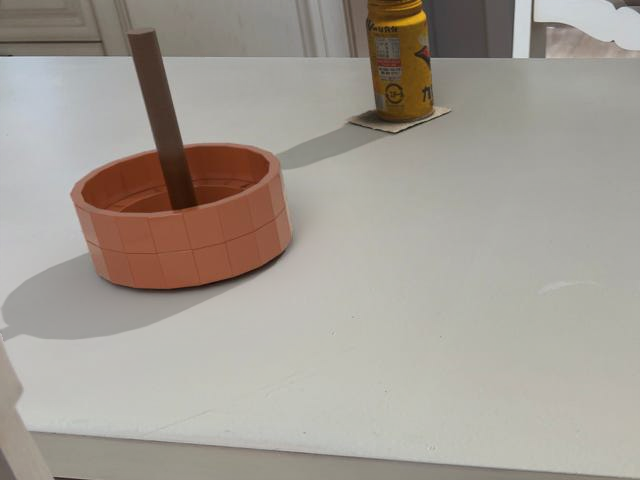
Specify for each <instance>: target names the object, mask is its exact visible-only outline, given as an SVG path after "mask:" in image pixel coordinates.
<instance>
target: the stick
mask: <svg viewBox="0 0 640 480" xmlns="http://www.w3.org/2000/svg"><path fill="white" fill-rule="evenodd" d="M125 35H126V39H127V43H128V46H129V51H130V54H131V58H132V62H133V66H134V69H135V73H136V77H137V81H138V86H139V88H140V93H141V96H142V100H143V104H144V107H145V111H146V115H147V120H148V122H149V123H148V124H149V127H150V130H151V134H152V138H153V142H154V146H155V149H156V150H157V154H158V157H159V161H160V165H161V169H162V173H163V176H164V180H165V184H166V188H167V192H168V195H169V199H170V203H171V207H172V211H174V210H182V209H186V208H191V207H195V206H198V202H197V198H196V194H195V190H194V186H193V182H192V178H191V174H190V169H189V165H188V161H187V157H186V153H185V149H184V145H185V144H184V142H183V137H182V134H181V129H180V125H179V121H178V117H177V112H176V109H175V104H174V101H173V95H172V92H171V88H170V84H169V81H168V75H167V73H166V72H167V71H166V68H165V64H164V59H163V56H162V52H161V48H160V44H159V39H158V35H157V32H156V28H154V27H151V26H144V27H136V28H133V29H129V30H127V31H125Z"/></svg>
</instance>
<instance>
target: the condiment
mask: <svg viewBox="0 0 640 480" xmlns="http://www.w3.org/2000/svg"><path fill="white" fill-rule="evenodd" d="M366 8H367V11H368V12H367V15H366V18H365V29H366V38H367V46H368V56H369V63H370V72H371V80H372V89H373V96H374V104H375V108H374V109H369V110H367V111H365V112H362V113H361V114H357V115H353V116H349V117H348V118H345V119H344V121H348V122H350V123H351V124H356V125H360V126H363V127H366V128H371V129H372V130H381V131H384V132H391V133H398V132H400V131H401V130H405V129H407V128H409V127H412V126H415V125H416V124H420V123H423V122H427V121H429V120H431V119H433V118H434V119H435V118H436V117H439V116H442V115H444V114H447V113H449V112H451V111H452V108H449V107H443V106H436V105H435V102H434V100H435V99H434V89H433V88H434V87H433V74H432V65H431V54H430V42H429V26H428V21H427V20H428V19H427V15H426V13H425V11H424V10H423V2H422V0H367V3H366Z"/></svg>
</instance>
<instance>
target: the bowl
mask: <svg viewBox="0 0 640 480" xmlns="http://www.w3.org/2000/svg"><path fill="white" fill-rule="evenodd" d="M183 145H184V149H185V153H186V157H187V161H188V165H189V169H190V174H191V178H192V182H193V186H194V190H195V194H196V198H197V202H198V206H195V207H191V208H186V209H182V210H174V211H172V207H171V203H170V199H169V195H168V192H167V188H166V184H165V180H164V176H163V173H162V169H161V165H160V161H159V157H158V154H157V150H156V148H155V149H150V150H145V151H141V152H138V153H134V154H131V155H127V156H125V157H122V158H118V159H115V160H112V161H110V162H107V163H106V164H103V165H102V166H98V167H97V168H94V169H93V170H91V171H90V172H88V173H87V174H86V175H84V176H83V177H81V178H80V179H79V180H78V181H76V182H75V183H74V185H73V187H72V189H71V191H70V193H69V196H70V199H71V203H72V206H73V208H74V212H75V215H76V218H77V221H78V224H79V227H80V230H81V233H82V237H83V239H84V242H85V246H86V249H87V251H88V255H89V257H90V261H91V264H92V266H93V269H94V270H95V273H96V275H97V276H100V277H102V278H103V279H104V280H106V281H108V282H110V283H112V284H115V285H119V286H125V287H128V288H129V287H130V288H134V289H154V290H155V289H158V290H159V289H160V290H161V289H162V290H170V289H171V290H172V289H179V288H188V287H197V286H202V285H206V284H210V283H214V282H215V283H216V282H218V281H224V280H227V279H231V278H235V277H237V276H240V275H243V274H245V273H248V272H250V271H253V270H255V269H258V268H260V267H262V266H263V265H265V264H267V263H268V262H270V261H271V260H273V259H274V258H277V256H279V255H281V254H282V253H283V252H284V251H285V249H286V248H287V247H288V245H289V244H290V243H291V242H292V240H293V230H294V229H293V223H292V218H291V212H290V208H289V207H290V206H289V202H288V201H289V200H288V197H287V191H286V186H285V180H284V174H283V169H282V164H281V160H280V159H279V158H278V157H277V156H276V155H275V154H273V152H271V151H269V150H266V149H264V148H260V147H258V146H254V145H250V144H242V143H236V142H198V143H188V144H183Z"/></svg>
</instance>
